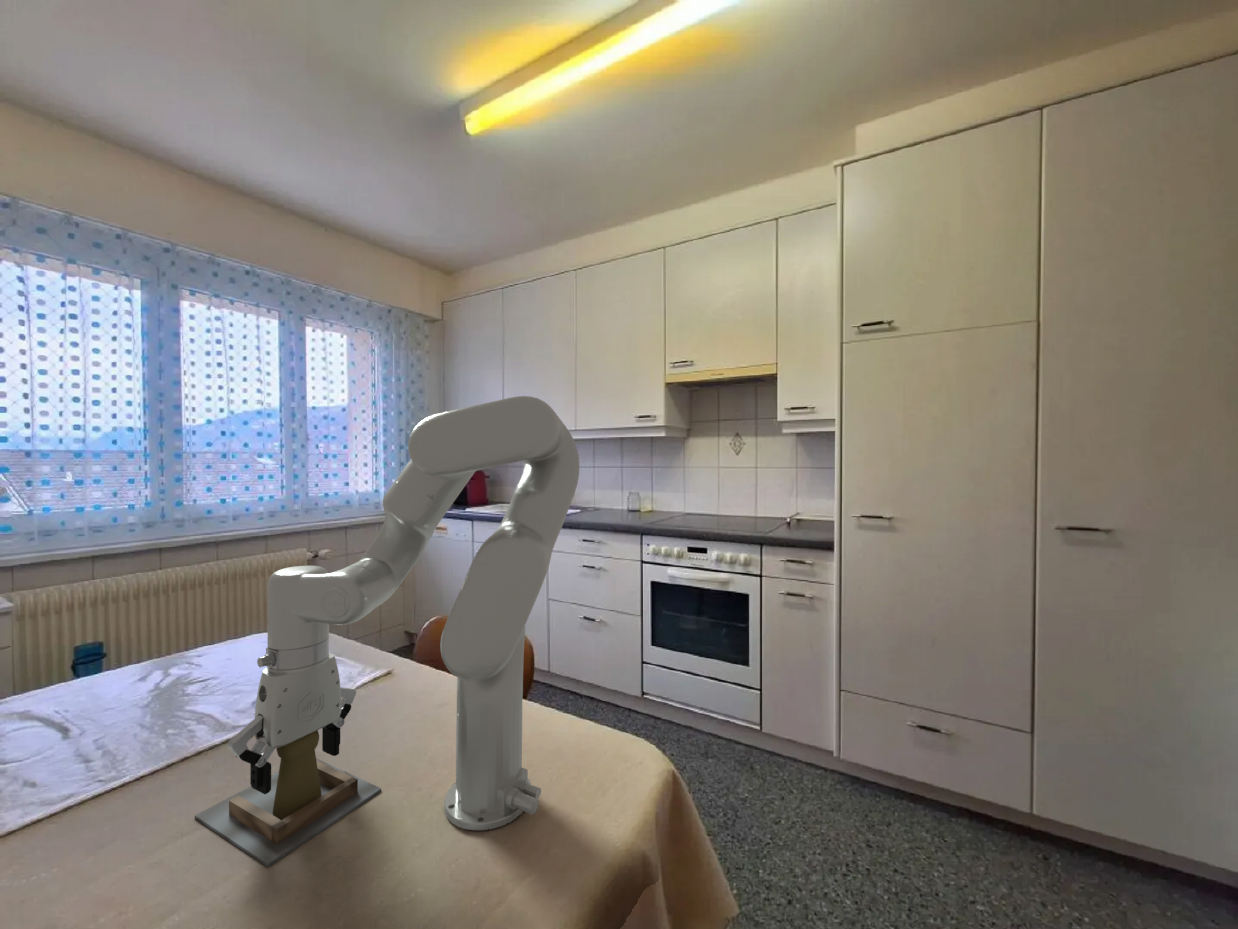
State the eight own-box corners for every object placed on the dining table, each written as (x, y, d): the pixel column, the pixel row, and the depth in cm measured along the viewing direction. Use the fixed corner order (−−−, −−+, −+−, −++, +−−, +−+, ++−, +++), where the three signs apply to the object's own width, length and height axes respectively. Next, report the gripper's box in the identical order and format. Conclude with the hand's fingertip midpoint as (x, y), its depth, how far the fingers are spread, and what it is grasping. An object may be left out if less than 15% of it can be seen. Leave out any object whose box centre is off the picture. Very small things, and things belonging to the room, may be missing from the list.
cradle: (381, 791, 76) (381, 775, 76) (267, 867, 61) (267, 848, 61) (309, 757, 84) (309, 743, 84) (194, 818, 69) (194, 801, 69)
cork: (331, 793, 74) (331, 720, 74) (302, 822, 68) (302, 743, 68) (293, 790, 75) (294, 718, 75) (261, 818, 69) (261, 740, 69)
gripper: (246, 682, 62) (245, 817, 62) (369, 638, 78) (369, 747, 78) (215, 670, 66) (214, 798, 66) (339, 630, 81) (338, 734, 81)
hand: (298, 770), depth 72 cm, fingers open, 9 cm apart
